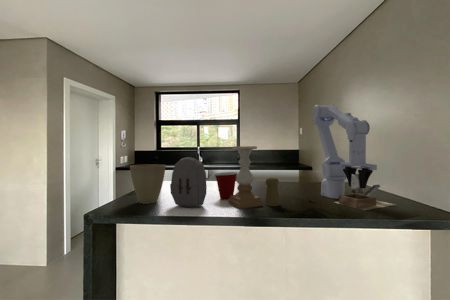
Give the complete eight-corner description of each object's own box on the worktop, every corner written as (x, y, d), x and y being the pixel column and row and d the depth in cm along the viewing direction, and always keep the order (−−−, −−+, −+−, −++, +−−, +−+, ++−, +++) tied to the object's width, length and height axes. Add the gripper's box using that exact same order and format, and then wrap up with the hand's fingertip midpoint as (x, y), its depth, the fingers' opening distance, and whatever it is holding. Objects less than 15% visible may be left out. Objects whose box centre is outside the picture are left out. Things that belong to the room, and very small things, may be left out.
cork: (279, 206, 104) (279, 178, 103) (264, 205, 105) (264, 178, 105) (279, 203, 110) (279, 176, 109) (265, 202, 111) (265, 176, 111)
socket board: (333, 205, 105) (333, 194, 105) (363, 200, 113) (363, 190, 113) (364, 213, 93) (364, 201, 92) (396, 207, 100) (396, 196, 100)
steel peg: (348, 191, 102) (348, 173, 102) (356, 190, 104) (356, 173, 103) (358, 193, 98) (358, 175, 98) (366, 192, 100) (366, 174, 100)
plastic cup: (223, 195, 127) (223, 170, 127) (242, 197, 121) (242, 171, 120) (209, 199, 118) (209, 172, 118) (229, 202, 112) (228, 174, 112)
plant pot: (153, 207, 104) (152, 167, 104) (122, 204, 109) (122, 166, 109) (172, 199, 118) (172, 164, 118) (144, 197, 123) (144, 163, 123)
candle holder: (239, 209, 100) (238, 146, 100) (227, 203, 110) (226, 146, 110) (263, 206, 105) (263, 146, 104) (250, 200, 115) (249, 146, 114)
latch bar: (360, 200, 108) (359, 198, 109) (365, 199, 110) (364, 197, 110) (375, 187, 102) (373, 184, 103) (380, 186, 104) (378, 184, 104)
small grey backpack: (209, 205, 106) (209, 156, 106) (201, 210, 98) (201, 157, 98) (176, 203, 111) (175, 156, 110) (166, 208, 103) (165, 157, 102)
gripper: (334, 151, 105) (334, 185, 106) (367, 152, 92) (367, 191, 92) (347, 151, 108) (346, 184, 109) (380, 152, 95) (380, 189, 95)
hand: (357, 187), depth 101 cm, fingers closed on steel peg, 4 cm apart
